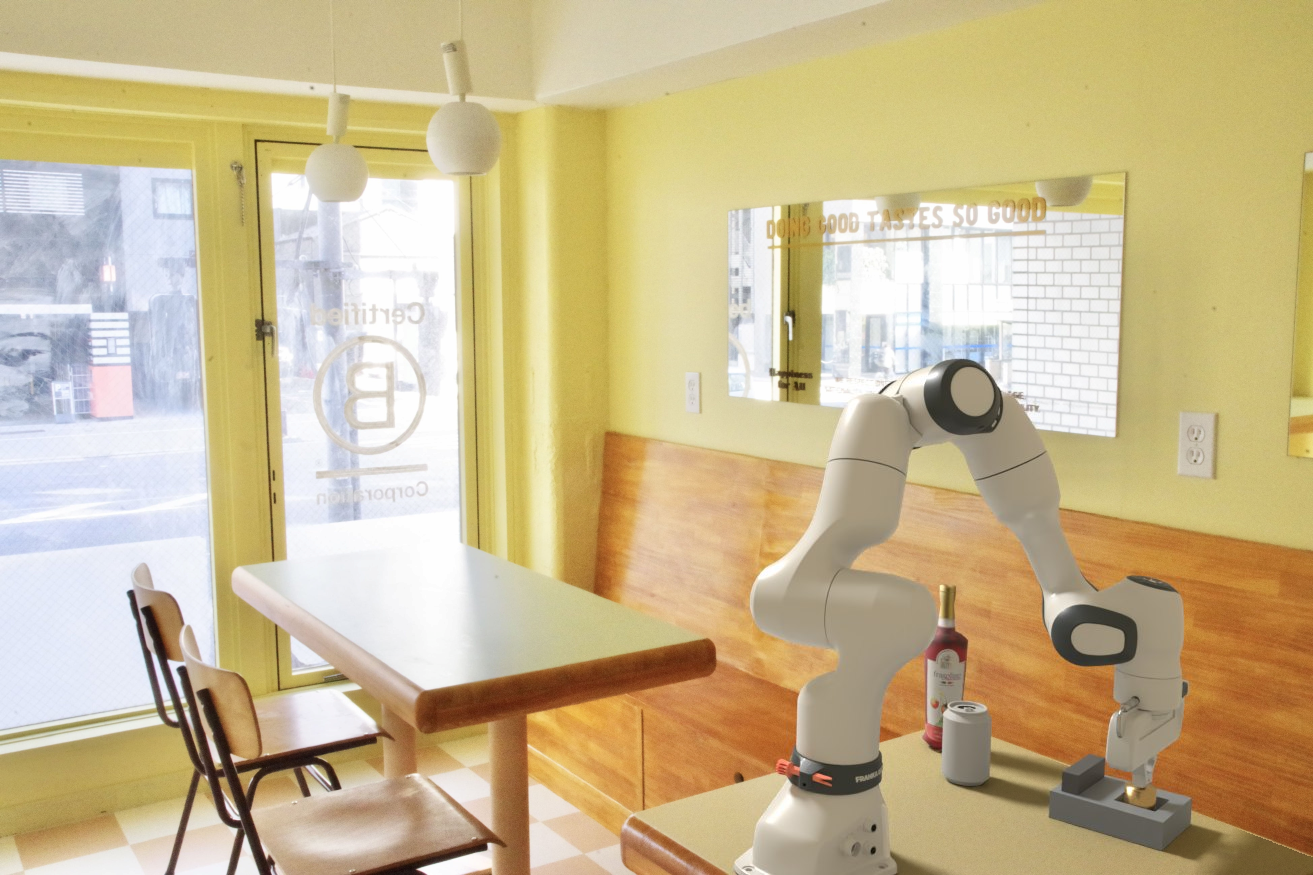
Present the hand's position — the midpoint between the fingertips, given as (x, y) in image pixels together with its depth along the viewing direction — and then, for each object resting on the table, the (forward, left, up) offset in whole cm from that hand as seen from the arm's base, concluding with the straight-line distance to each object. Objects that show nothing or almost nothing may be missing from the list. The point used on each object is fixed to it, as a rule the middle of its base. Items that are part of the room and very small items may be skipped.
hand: (1142, 784), depth 163 cm
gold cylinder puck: (0, 0, -6) cm, 6 cm away
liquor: (+10, +37, -6) cm, 39 cm away
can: (-1, +27, -6) cm, 28 cm away
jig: (0, +3, -6) cm, 7 cm away
